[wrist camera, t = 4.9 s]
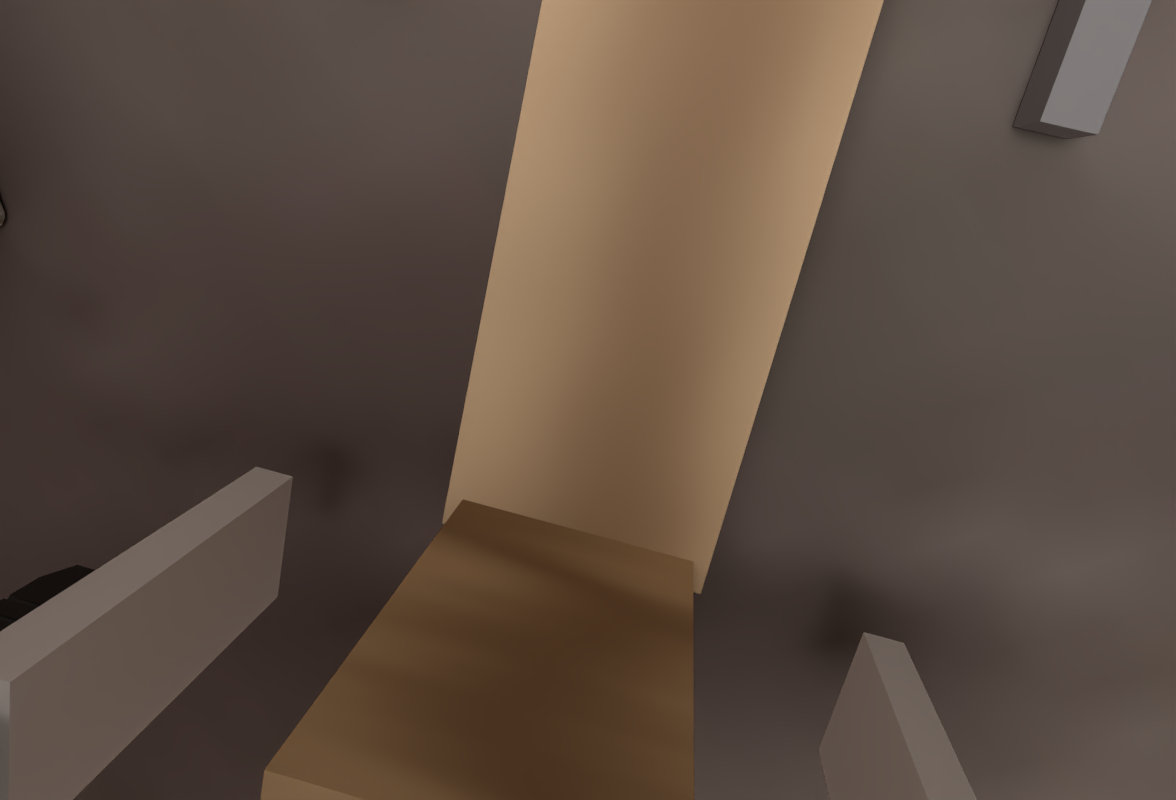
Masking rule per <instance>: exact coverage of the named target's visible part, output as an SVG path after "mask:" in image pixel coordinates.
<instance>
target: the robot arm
mask: <svg viewBox="0 0 1176 800" xmlns="http://www.w3.org/2000/svg"><path fill="white" fill-rule="evenodd" d="M292 480H293V476H289V475H285V474H282V473H278V472H274V471H271V470H267V469H263V468H260V467H255V468H254V469H252V470H250V471H249V472H247V473H246V474H244V475H243V476H241V477H240V478H238V479H236V480H235V481H233V482H232V483H230V484H229V485H227V486H226V487H224V488H222V489H221V490H219V491H218V492H216V493H215V494H213V495H212V496H210V497H208V498H207V499H205V500H204V501H202V502H201V503H199V504H198V505H196V506H194V507H193V508H191V509H190V510H188V511H187V512H185V513H184V514H182V515H180V516H179V517H177V518H176V519H174V520H173V521H171V522H170V523H168V524H166V525H165V526H163V527H162V528H160V529H159V530H157V531H156V532H154V533H152V534H151V535H149V536H148V537H146V538H145V539H143V540H142V541H140V542H138V543H137V544H135V545H134V546H132V547H131V548H129V549H128V550H126V551H124V552H123V553H121V554H120V555H118V556H117V557H115V558H114V559H112V560H111V561H109V562H107V563H106V564H104V565H103V566H101V567H100V568H98V569H97V570H93V569H90V568H86V567H83V566H79V565H76V566H73V567H70V568H67V569H63V570H60V571H57V572H54V573H51V574H48V575H45V576H42V577H39V578H37V579H36V580H34V581H32V582H31V583H29V584H27V585H26V586H24V587H22V588H21V589H19V590H17V591H16V592H14V593H12V594H11V595H10V596H9V598H8V599H2V600H1V601H0V800H73V799H74V798H75V797H76V796H77V795H78V794H79V793H80V792H81V791H82V790H83V789H84V788H85V787H86V786H87V785H88V784H89V783H90V782H91V781H92V780H93V779H94V778H95V777H96V776H97V775H98V774H99V773H100V772H101V771H102V770H103V769H104V768H105V767H106V766H107V765H108V764H109V763H110V762H111V761H112V760H113V759H114V758H115V757H116V756H117V755H118V754H119V753H120V752H121V751H122V750H123V749H124V748H125V747H126V746H127V745H128V744H129V743H130V742H131V741H132V740H133V739H134V738H135V737H136V736H137V735H139V734H140V733H141V732H142V731H143V730H144V729H145V728H146V727H147V726H148V725H149V724H150V723H151V722H152V721H153V720H154V719H155V718H156V717H157V716H158V715H159V714H160V713H161V712H162V711H163V710H164V709H165V708H166V707H167V706H168V705H169V704H170V703H171V702H172V701H173V700H174V699H175V698H176V697H177V696H178V695H179V694H180V693H181V692H182V691H183V690H184V689H185V688H186V687H187V686H188V685H189V684H190V683H191V682H192V681H193V680H194V679H195V678H196V677H197V676H198V675H199V674H200V673H201V672H202V671H203V670H204V669H205V668H206V667H207V666H208V665H209V664H210V663H211V662H212V661H213V660H214V659H215V658H216V657H217V656H218V655H219V654H220V653H221V652H222V651H223V650H224V649H225V648H226V647H227V646H228V645H229V644H230V643H231V642H232V641H233V640H234V639H235V638H236V637H237V636H238V635H240V634H241V633H242V632H243V631H244V630H245V629H246V628H247V627H248V626H249V625H250V624H251V623H252V622H253V621H254V620H255V619H256V618H257V617H258V616H259V615H260V614H261V613H262V612H263V611H264V610H265V609H266V608H267V607H268V606H269V605H270V604H271V603H272V602H273V601H274V600H275V599H276V598H277V597H278V590H279V582H280V575H281V567H282V559H283V551H284V543H285V535H286V527H287V520H288V512H289V504H290V496H291V488H292ZM818 750H819V754H820V759H821V763H822V768H823V772H824V777H825V781H826V785H827V790H828V794H829V799H830V800H977V799H976V797H975V795H974V793H973V790H972V788H971V786H970V784H969V782H968V780H967V778H966V775H965V773H964V771H963V769H962V767H961V765H960V762H959V760H958V758H957V756H956V754H955V752H954V750H953V747H952V745H951V743H950V741H949V739H948V737H947V734H946V732H945V730H944V728H943V726H942V724H941V722H940V719H939V717H938V715H937V713H936V711H935V709H934V707H933V704H932V702H931V700H930V698H929V696H928V694H927V691H926V689H925V687H924V685H923V683H922V681H921V679H920V676H919V674H918V672H917V670H916V668H915V666H914V663H913V661H912V659H911V657H910V655H909V653H908V651H907V648H906V646H905V644H904V643H903V642H899V641H895V640H892V639H888V638H884V637H881V636H877V635H873V634H870V633H866V632H863V635H862V637H861V640H860V643H859V645H858V648H857V650H856V653H855V656H854V658H853V661H852V663H851V666H850V669H849V671H848V674H847V676H846V679H845V682H844V684H843V687H842V689H841V692H840V695H839V697H838V700H837V702H836V705H835V708H834V710H833V713H832V715H831V718H830V721H829V723H828V726H827V728H826V731H825V734H824V736H823V739H822V741H821V744H820V747H819V749H818Z"/></svg>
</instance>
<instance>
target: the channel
mask: <svg viewBox="0 0 1176 800" xmlns="http://www.w3.org/2000/svg"><path fill="white" fill-rule="evenodd" d="M1151 1H1152V0H1059V2H1058V5H1057V7H1056V10H1055V13H1054V16H1053V18H1052V21H1051V24H1050V26H1049V29H1048V32H1047V35H1046V37H1045V40H1044V43H1043V45H1042V48H1041V51H1040V54H1039V56H1038V59H1037V62H1036V64H1035V67H1034V70H1033V73H1032V75H1031V78H1030V81H1029V83H1028V86H1027V89H1026V92H1025V94H1024V97H1023V100H1022V102H1021V105H1020V108H1019V111H1018V113H1017V116H1016V119H1015V121H1014V124H1013V127H1017V128H1021V129H1026V130H1030V131H1034V132H1039V133H1043V134H1047V135H1052V136H1056V137H1060V138H1065V139H1068V138H1076V137H1084V136H1092V135H1098V134H1099V131H1100V129H1101V126H1102V124H1103V121H1104V119H1105V116H1106V114H1107V111H1108V109H1109V106H1110V104H1111V101H1112V99H1113V96H1114V94H1115V91H1116V89H1117V86H1118V84H1119V81H1120V79H1121V76H1122V74H1123V71H1124V69H1125V66H1126V64H1127V61H1128V59H1129V56H1130V54H1131V51H1132V49H1133V46H1134V44H1135V41H1136V39H1137V36H1138V34H1139V31H1140V29H1141V26H1142V24H1143V21H1144V19H1145V16H1146V14H1147V11H1148V9H1149V6H1150V4H1151Z"/></svg>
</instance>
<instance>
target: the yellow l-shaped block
mask: <svg viewBox="0 0 1176 800" xmlns="http://www.w3.org/2000/svg"><path fill="white" fill-rule="evenodd" d="M883 1H884V0H542V4H541V9H540V15H539V20H538V25H537V30H536V35H535V41H534V46H533V51H532V56H531V61H530V67H529V72H528V77H527V82H526V88H525V93H524V98H523V103H522V108H521V114H520V119H519V124H518V129H517V134H516V140H515V145H514V150H513V155H512V161H511V166H510V171H509V176H508V181H507V187H506V192H505V197H504V202H503V207H502V213H501V218H500V223H499V228H498V234H497V239H496V244H495V249H494V254H493V260H492V265H491V270H490V275H489V280H488V286H487V291H486V296H485V301H484V307H483V312H482V317H481V322H480V327H479V333H478V338H477V343H476V348H475V353H474V359H473V364H472V369H471V374H470V380H469V385H468V390H467V395H466V400H465V406H464V411H463V416H462V421H461V426H460V432H459V437H458V442H457V447H456V453H455V458H454V463H453V468H452V473H451V479H450V484H449V489H448V494H447V499H446V505H445V510H444V515H443V520H442V524H444V525H443V527H442V528H441V530H440V531H439V532H438V534H437V535H436V536H435V538H434V539H433V540H432V542H431V543H430V545H429V546H428V547H427V549H426V550H425V551H424V553H423V554H422V555H421V557H420V558H419V560H418V561H417V562H416V564H415V565H414V566H413V568H412V569H411V570H410V572H409V573H408V575H407V576H406V577H405V579H404V580H403V581H402V583H401V584H400V585H399V587H398V588H397V590H396V591H395V592H394V594H393V595H392V596H391V598H390V599H389V601H388V602H387V603H386V605H385V606H384V607H383V609H382V610H381V611H380V613H379V614H378V616H377V617H376V618H375V620H374V621H373V622H372V624H371V625H370V626H369V628H368V629H367V631H366V632H365V633H364V635H363V636H362V637H361V639H360V640H359V641H358V643H357V644H356V646H355V647H354V648H353V650H352V651H351V652H350V654H349V655H348V656H347V658H346V659H345V661H344V662H343V663H342V665H341V666H340V667H339V669H338V670H337V671H336V673H335V674H334V676H333V677H332V678H331V680H330V681H329V682H328V684H327V685H326V686H325V688H324V689H323V691H322V692H321V693H320V695H319V696H318V697H317V699H316V700H315V701H314V703H313V704H312V706H311V707H310V708H309V710H308V711H307V712H306V714H305V715H304V716H303V718H302V719H301V721H300V722H299V723H298V725H297V726H296V727H295V729H294V730H293V731H292V733H291V734H290V736H289V737H288V738H287V740H286V741H285V742H284V744H283V745H282V746H281V748H280V749H279V751H278V752H277V753H276V755H275V756H274V757H273V759H272V760H271V761H270V763H269V764H268V766H267V767H266V768H265V770H264V777H263V784H262V792H261V799H260V800H694V629H693V592H695V593H698V594H701V591H702V588H703V585H704V581H705V578H706V575H707V572H708V568H709V565H710V562H711V559H712V555H713V552H714V549H715V546H716V542H717V539H718V536H719V533H720V529H721V526H722V523H723V520H724V517H725V513H726V510H727V507H728V504H729V500H730V497H731V494H732V491H733V487H734V484H735V481H736V478H737V474H738V471H739V468H740V465H741V461H742V458H743V455H744V452H745V448H746V445H747V442H748V439H749V436H750V432H751V429H752V426H753V423H754V419H755V416H756V413H757V410H758V406H759V403H760V400H761V397H762V393H763V390H764V387H765V384H766V380H767V377H768V374H769V371H770V367H771V364H772V361H773V358H774V355H775V351H776V348H777V345H778V342H779V338H780V335H781V332H782V329H783V325H784V322H785V319H786V316H787V312H788V309H789V306H790V303H791V299H792V296H793V293H794V290H795V286H796V283H797V280H798V277H799V273H800V270H801V267H802V264H803V261H804V257H805V254H806V251H807V248H808V244H809V241H810V238H811V235H812V231H813V228H814V225H815V222H816V218H817V215H818V212H819V209H820V205H821V202H822V199H823V196H824V192H825V189H826V186H827V183H828V180H829V176H830V173H831V170H832V167H833V163H834V160H835V157H836V154H837V150H838V147H839V144H840V141H841V137H842V134H843V131H844V128H845V124H846V121H847V118H848V115H849V111H850V108H851V105H852V102H853V99H854V95H855V92H856V89H857V86H858V82H859V79H860V76H861V73H862V69H863V66H864V63H865V60H866V56H867V53H868V50H869V47H870V43H871V40H872V37H873V34H874V30H875V27H876V24H877V21H878V18H879V14H880V11H881V8H882V5H883Z"/></svg>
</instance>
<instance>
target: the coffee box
mask: <svg viewBox="0 0 1176 800" xmlns="http://www.w3.org/2000/svg"><path fill="white" fill-rule="evenodd" d="M4 219H5V213H4V210H3V207H2V204H1V202H0V226H1V225H2V224H3V221H4Z"/></svg>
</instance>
